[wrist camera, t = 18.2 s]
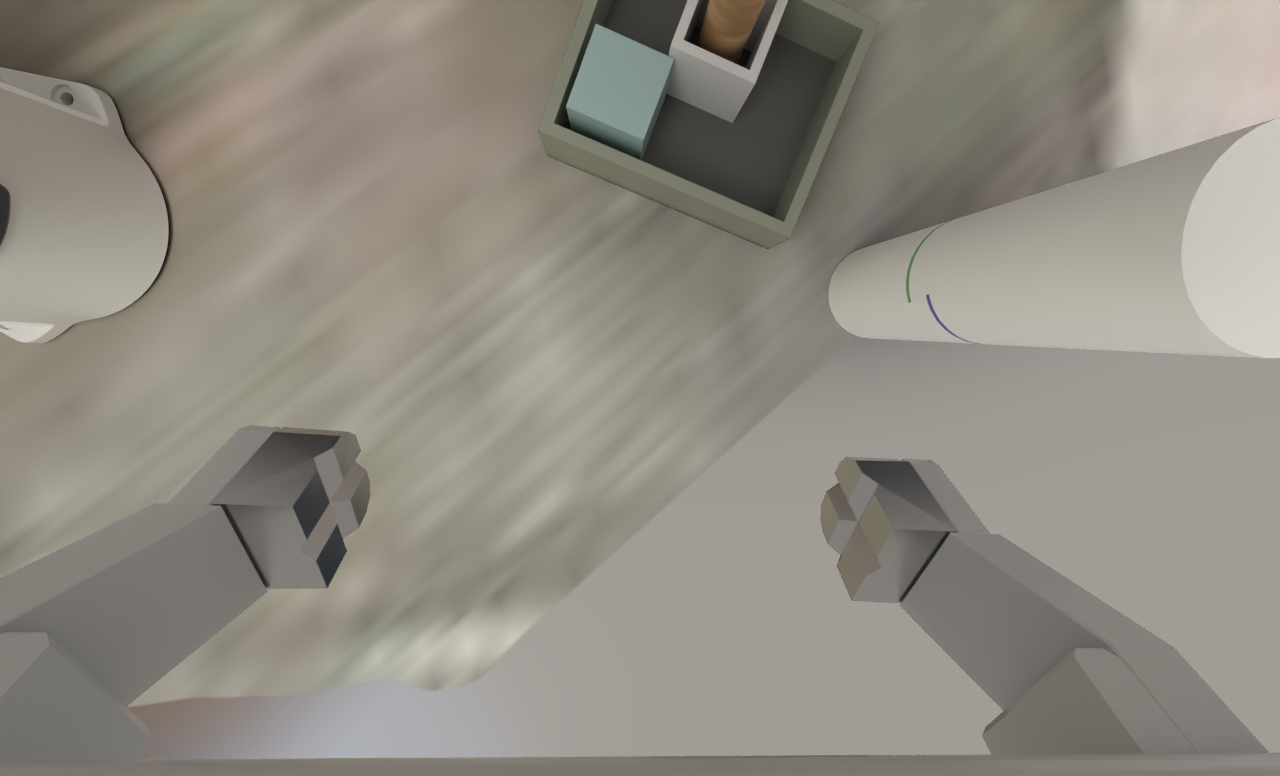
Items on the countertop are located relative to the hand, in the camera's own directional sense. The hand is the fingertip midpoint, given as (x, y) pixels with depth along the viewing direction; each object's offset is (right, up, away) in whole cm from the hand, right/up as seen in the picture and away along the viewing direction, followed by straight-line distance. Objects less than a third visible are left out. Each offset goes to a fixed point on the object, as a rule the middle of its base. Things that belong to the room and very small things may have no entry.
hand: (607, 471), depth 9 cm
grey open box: (+5, +22, +29) cm, 37 cm away
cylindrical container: (+19, +9, +31) cm, 38 cm away
